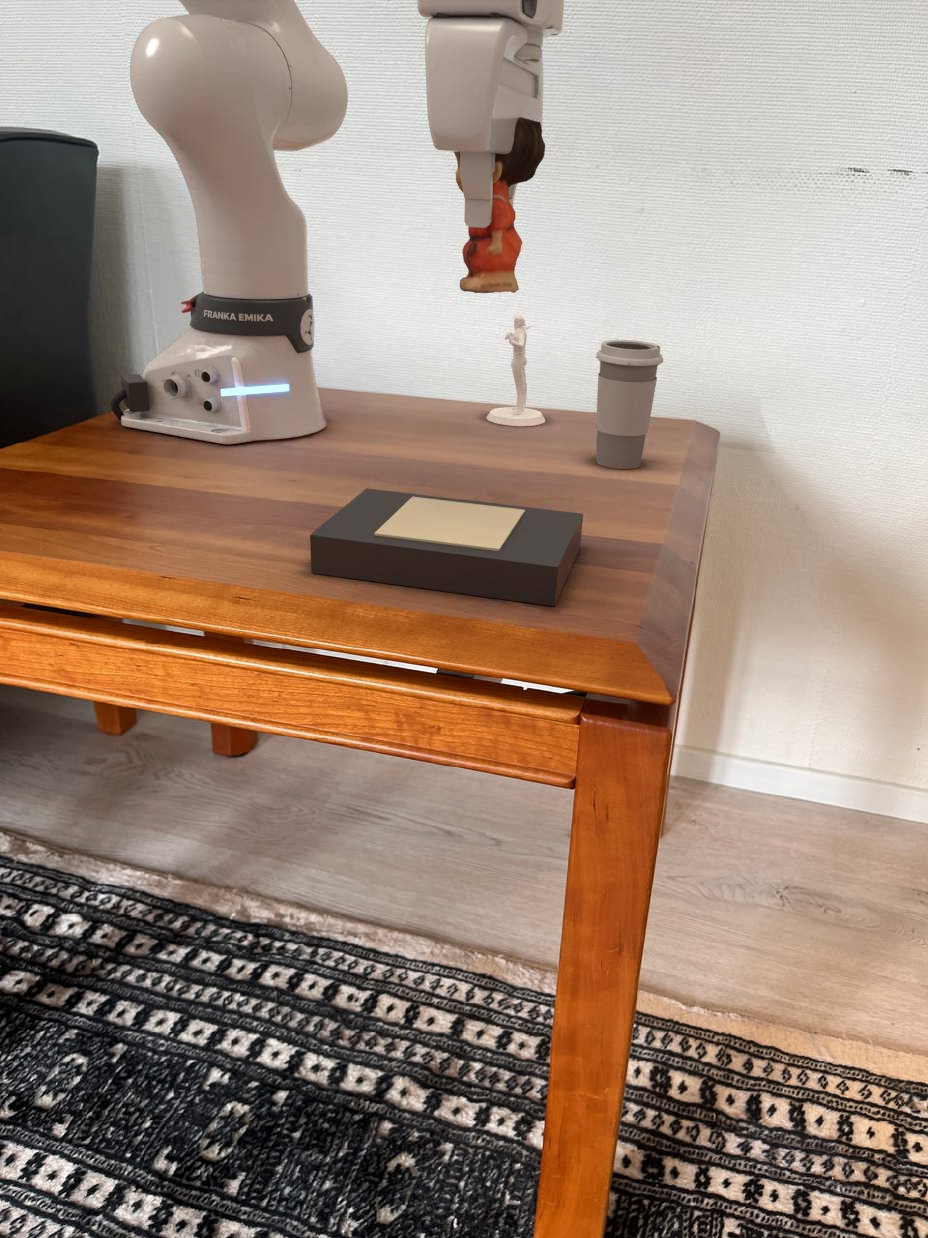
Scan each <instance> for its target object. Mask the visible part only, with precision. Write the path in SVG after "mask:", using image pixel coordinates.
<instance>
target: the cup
mask: <svg viewBox="0 0 928 1238" xmlns="http://www.w3.org/2000/svg"><path fill="white" fill-rule="evenodd" d="M595 359H597V360H598V361H599V372H598V373H597V397H596V419H595V420H596V422H595V429H596V430H597V431H596V449H595V450H596V451H595V463H596V464H597V465H599V466H601V467H605V468H609V469H615V470H630V469H637V468H639V467H640V466H641V465H642V458H643V454H644V447H645V442H646V437H647V436H646V435H647V434H648V431H649V427H650V426H649V425H650V421H651V416H652V410H653V404H654V398H655V392H656V388H657V387H656V386H657V380H658V377H657V372H658V366H660V365H662V364H663V363H664V357H663V355H662V353H661V345H659V344H657V343H654V342H649V341H644V340H643V341H642V340H635V339H634V340H633V339H611V340H610V339H608V340H604V341H602V342H601V345H600V349H599V350H598V351H597V352H596V355H595Z"/></svg>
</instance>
